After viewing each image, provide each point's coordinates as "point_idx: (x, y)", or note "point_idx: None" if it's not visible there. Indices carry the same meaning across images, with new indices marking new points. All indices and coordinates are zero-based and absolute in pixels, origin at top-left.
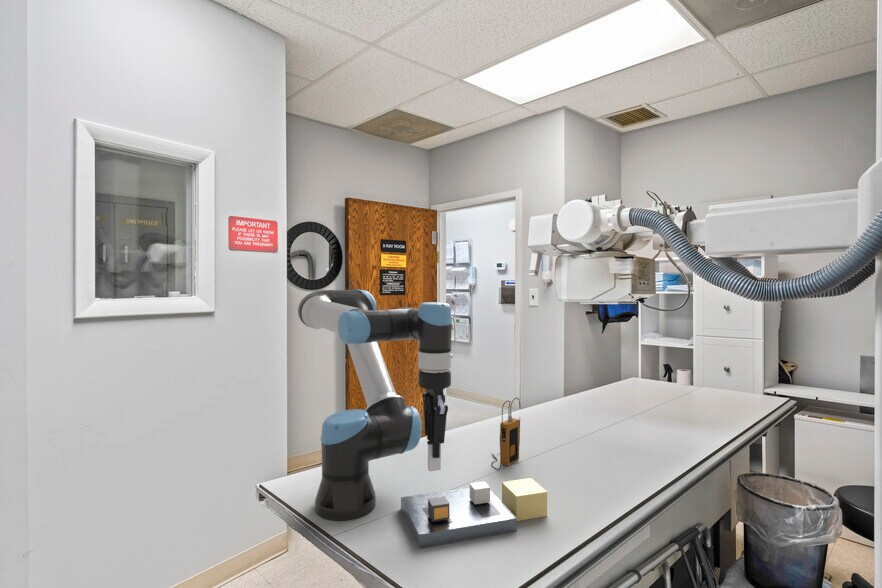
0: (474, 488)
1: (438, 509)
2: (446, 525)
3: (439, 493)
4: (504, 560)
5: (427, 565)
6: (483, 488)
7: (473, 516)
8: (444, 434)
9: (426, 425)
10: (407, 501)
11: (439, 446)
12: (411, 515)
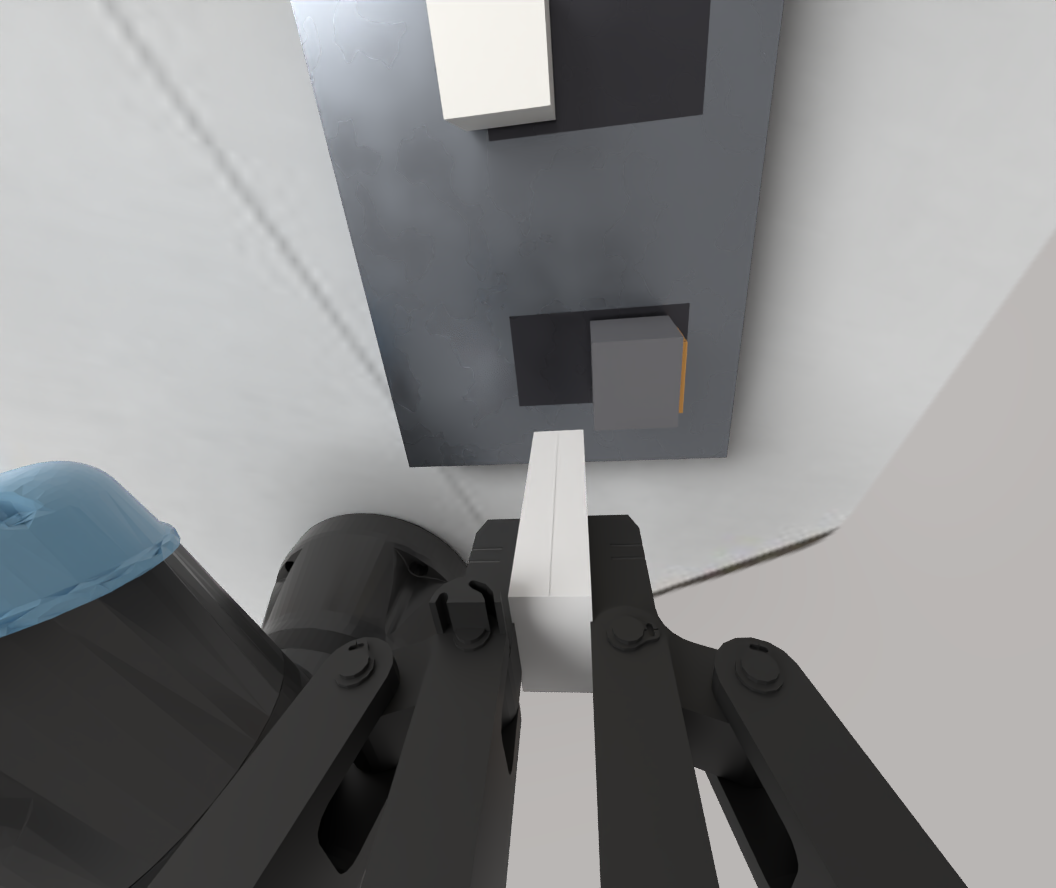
0: (530, 102)
1: (681, 390)
2: (703, 337)
3: (384, 296)
4: (984, 86)
5: (824, 425)
6: (545, 15)
7: (670, 169)
8: (916, 824)
9: (358, 872)
10: (449, 450)
11: (653, 604)
12: None
